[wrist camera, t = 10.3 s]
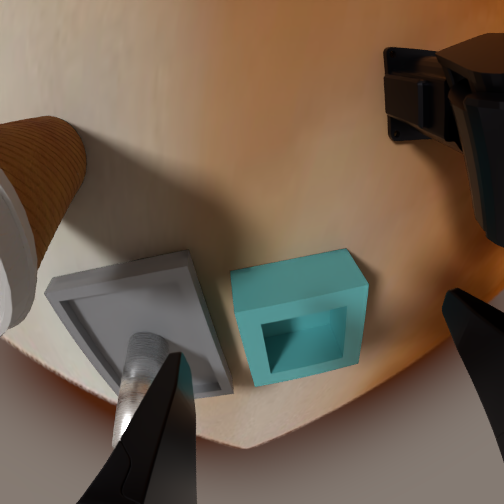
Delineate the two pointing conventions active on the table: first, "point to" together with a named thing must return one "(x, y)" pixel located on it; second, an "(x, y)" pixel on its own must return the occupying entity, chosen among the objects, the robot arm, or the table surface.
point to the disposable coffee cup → (33, 203)
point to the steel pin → (137, 376)
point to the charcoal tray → (142, 317)
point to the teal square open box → (300, 315)
